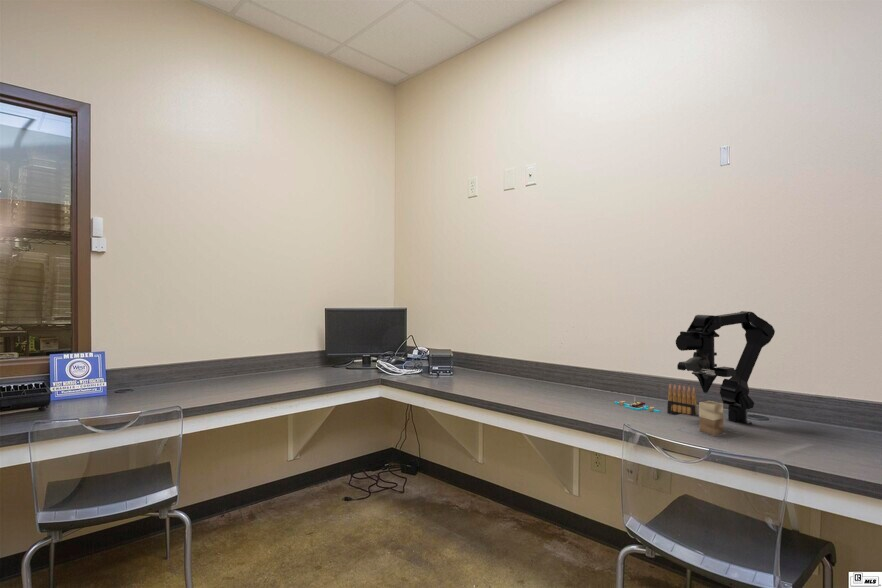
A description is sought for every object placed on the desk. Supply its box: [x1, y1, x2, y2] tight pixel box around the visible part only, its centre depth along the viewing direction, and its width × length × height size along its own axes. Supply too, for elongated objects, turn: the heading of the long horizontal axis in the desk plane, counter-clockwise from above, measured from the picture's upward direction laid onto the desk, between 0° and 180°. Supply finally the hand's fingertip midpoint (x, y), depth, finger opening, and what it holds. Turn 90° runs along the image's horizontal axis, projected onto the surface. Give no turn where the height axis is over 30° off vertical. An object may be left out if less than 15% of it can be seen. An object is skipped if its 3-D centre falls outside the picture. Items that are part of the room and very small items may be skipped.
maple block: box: [698, 400, 724, 420], centre depth 153 cm, size 5×5×5 cm
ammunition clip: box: [666, 383, 698, 417], centre depth 178 cm, size 11×2×12 cm, turn 40°
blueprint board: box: [676, 424, 748, 443], centre depth 153 cm, size 16×16×1 cm
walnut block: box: [698, 417, 724, 436], centre depth 153 cm, size 5×5×5 cm
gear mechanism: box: [614, 396, 662, 414], centre depth 191 cm, size 20×5×9 cm
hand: (705, 392), depth 164 cm, fingers closed
